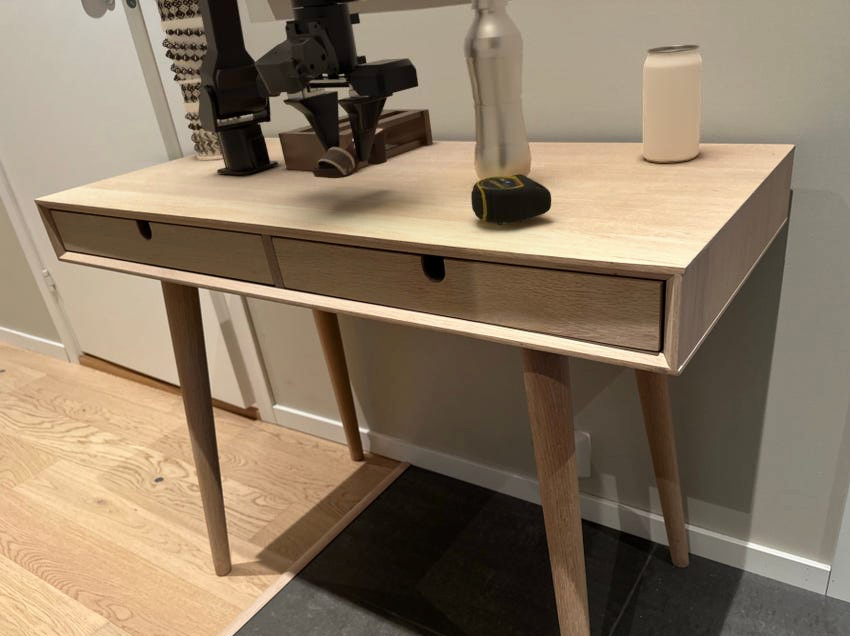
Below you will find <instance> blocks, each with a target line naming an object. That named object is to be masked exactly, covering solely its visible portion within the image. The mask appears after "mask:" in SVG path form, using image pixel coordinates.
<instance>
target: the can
mask: <svg viewBox="0 0 850 636" xmlns="http://www.w3.org/2000/svg"><path fill="white" fill-rule="evenodd" d="M699 48H700V45H698V44H677V45H666V46H659V47H652V48H649V49H647V56H646V59H645V61H644V63H643V70H642V156H643V158H645V160H646V161H647V162H651V163H657V164H673V163H674V164H675V163H682V162H687V161H690V160H693V159H695V158H696V157H697V155H699V152H700V136H701V114H702V92H703V91H702V89H703V58H702V57H701V54H700V50H699Z"/></svg>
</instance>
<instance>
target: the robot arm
mask: <svg viewBox="0 0 850 636" xmlns="http://www.w3.org/2000/svg"><path fill="white" fill-rule="evenodd" d="M198 1H199V6H200V11H201V16H202V21H203V26H204V32H205V37H206V42H207V51H206V54H205V57H204V59H203V62H202V64H201V67H200V78H201V85H202V86H201V88H200V97H199V112H198V117H199V120H200V122H201V125H202V127H203V130H204V131H208V132H213V133H216V134H217V138H218V141H219V145H220V149H221V153H222V156H223V158H222V160H223V164H224V167H222V168H219V169H217V170H216V171H217V174H225V175H236V176H237V175H238V176H247V175H251V174H253V173H256V172H259V171H263V170H266V169H269V168H272V167H275V166H278V165H279V161H278V160H271V159H270V154H269V151H268V147H267V142H266V137H265V135H264V133H263V130H262V126H261V124H262V123H271V121H272V119H271V117H272V116H271V114H272V113H271V102H270V98H277V97H280V96H281V94H283V93H286V95H287V96H286V97H287V98H286V99H283V100H282V101H283V103H284V104H285V105H287V106H290V107H293V108H294V109H296V110H297V111H298V112H300V113H301V114H302V115H303V116H304V117H305V119H306V120H307V122H308V123H309V125H311V126H312V128H313V130H314V132H315V134H316V135H317V137H318V139H319V141H320V143H321V144H322V146H323V148H324V150H325V152H326V153H327V151H328V150H329V149H330V148H332V147H340V140H339V117H340V115H339V106H340V107H341V108H342V109H343V110H344V111H345V112H346V115H348V116H349V121H350V125H351V130H352V135H353V138H352V140H353V141H354V144H355V149H356V152H357V155H358V159H359V161H360V162H365V161H367V160H368V159H369V155H370V151H371V148H372V144H373V140H374V136H375V133H376V129H377V125H378V122H379V119H380V116H381V113H382V111H383V109H385V108H384V107H385V106H386V103H387V99H388V98H389V97H393V96H394V94H395V93H398V92H403V91H405V90H409V89H414V88H417V87H419V79H418V73H417V68H416V66H415V65H414V63H413V62H412V61H411V60H410V59H409V58H407V57H405V58H388V59H387V58H385V59H380V60H373V61H370V62H367V57H366V55H358V52H357V45H356V40H355V34H354V28H353V27H354V26H353V25H358V24H361V19H360V14H359V12H352V13H351V9H350V4H349V3H358V2H359V3H360V2H366V1H367V2H368V1H369V0H290V4H291V8H292V14H293V19H292V20H285V24H286V25H285V27H284V29H285V34H286V39H285V40H283V41H282V42H280V43H278V44H277V45H275V46H274V47H272V48H271V49H270V50H269V51H267V52H266V53H265V54H263V55H262V56H260V57H259V58H258V59H257V60H254V58H253V57H252V56H251V54H250V53H249V51H248V50H247V49H246V44H245V38H244V32H243V27H242V20H241V15H240V14H241V13H240V9H239V8H240V7H239V2H238V0H198ZM340 88H341V89H342V88H348V89H349V90H348V95H349V96H348V97H344V98H340V99H339V91H338V90H326V89H340ZM249 115H250V116H249ZM235 117H241V118H239V119H234V120H229V121H224V122H219V123H218V122H217V120H218V119H219V120H224V119H230V118H235Z"/></svg>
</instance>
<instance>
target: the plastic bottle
mask: <svg viewBox="0 0 850 636" xmlns="http://www.w3.org/2000/svg"><path fill="white" fill-rule="evenodd" d="M506 6H509V0H471V6H470V8H471V10H474V16H473V18H472V21H471V23H470V25H469V27H468V29H467V31H466V34H465V37H464V39H463V47H462V50H463V56H464V58H465V64H466V69H467V73H468V77H469V82H470V87H471V93H472V99H473V109H474V119H475V120H474V122H475V123H474V124H475V125H474V126H475V127H474V128H475V145H474V159H473V161H474V162H473V163H474V168H475V172H476V176H477V178H478V179H479V181H480V180H483V179H486V178H490V177H498V176H513V175H517V174H522V175H524V176H526V177H527V178H528V176H529V174H530V172H531V168H532V153H531V149H530V144H529V140H528V139H527V131H526V124H525V117H524V112H523V110H524V109H523V98H522V94H523V87H522V86H523V84H522V75H523V60H524V59H523V58H524V53H523V52H524V39H523V36H522V33H521V31H520V29H519V28H518V26H517V25H516V23H515V22H514V20H513V19H512V18H511V17H510V15H509V14H508V13H507V9H506Z"/></svg>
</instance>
